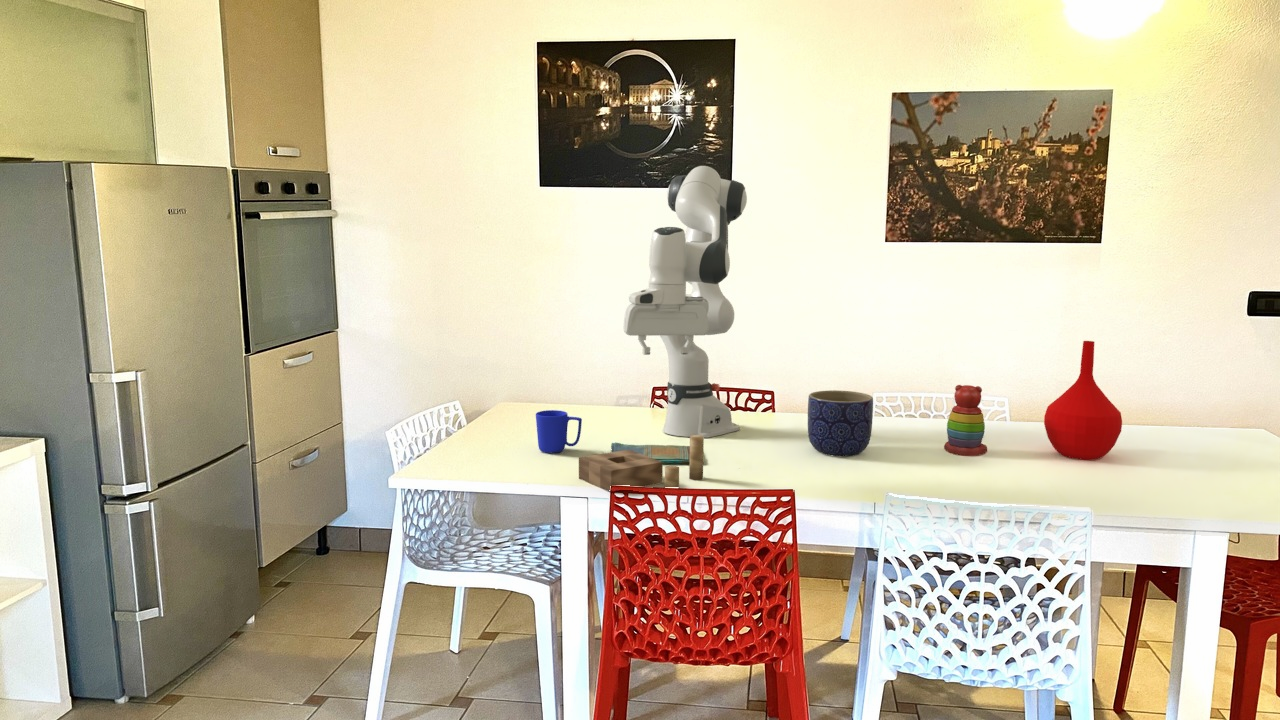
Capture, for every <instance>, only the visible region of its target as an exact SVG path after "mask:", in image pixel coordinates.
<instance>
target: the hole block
mask: <svg viewBox="0 0 1280 720" xmlns="http://www.w3.org/2000/svg"><path fill="white" fill-rule="evenodd" d="M663 467H664V465H663V462H661V461H659V460H656V459H653V458H650V457H648V456H645V455H642V454H640V453H637V452H634V451H631V450H623V451H616V452H611V451H610V452H606V453H599V454H598V453H597V454H592V455H586V456H579V457H578V479H579V480H582V481H584V482H586V483H588V484H591V485H593V486H595V487H598V488H600V489H602V490H604V491H607V492H609V490H610V486H612V485H630V486H644V487H649V486H654V485H660V484H663V477H664V476H663V469H664V468H663Z"/></svg>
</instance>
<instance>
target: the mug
mask: <svg viewBox="0 0 1280 720" xmlns="http://www.w3.org/2000/svg"><path fill="white" fill-rule="evenodd" d="M571 420H573V421H578V426H577V427H578V428H577V435H576V439H575V441H574V442H572V443H569V442H568V427H569V426H568V425H569V421H571ZM582 420H583V419H582V417H578V416H569V415H568V412H566V411H564V410H558V409H557V410H556V409H554V410H553V409H551V410H548V409H546V410H540V411H537V412H536V413H535V423H536V433H537V434H536V435H537V447H538V450H539V451H540V452H541V453H545V454H557V453H560V452H563V451H564V450H565V448H566V446H568V447H575V446H576V445H577V444H578V443H579V441H580V437H581V432H582V422H583V421H582Z"/></svg>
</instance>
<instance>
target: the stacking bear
mask: <svg viewBox="0 0 1280 720" xmlns="http://www.w3.org/2000/svg"><path fill="white" fill-rule="evenodd" d="M954 389H955V392H954V401H955V404H956V405H955V406H953V407H952V408H951V410H950V413H949V417H948V419H947V423H946V434H947V440H948V441H946V442H945V443H944V444H943V449H944V450H945V452H948V453H949V454H951V455H956V456H964V457H974V456H975V457H976V456H981V455H985V454H986V453H987V452H988V446H987V445H986V444H984V443H982V441H983V438H984V437H985V430H986V429H985V427H986V426H985V418H984V414H983V410H981V408H980V407H979V406H980V404H981V401H982V391H983V389H982V387H981V386H979V385H977V386H974V385H969V384H966V385H965V384H964V385H962V384H957V385H956V386H955V387H954Z"/></svg>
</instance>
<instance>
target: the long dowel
mask: <svg viewBox="0 0 1280 720" xmlns="http://www.w3.org/2000/svg"><path fill="white" fill-rule="evenodd" d="M704 439H705V438H704V436H701V435H692V436H690V437H689V446H690V464H689V465H688V467H689V468H688V469H689V471H688V473H689V480H691V481H701V480H703V479H704V464H703V463H704V447H705V446H704V441H705V440H704Z"/></svg>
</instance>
